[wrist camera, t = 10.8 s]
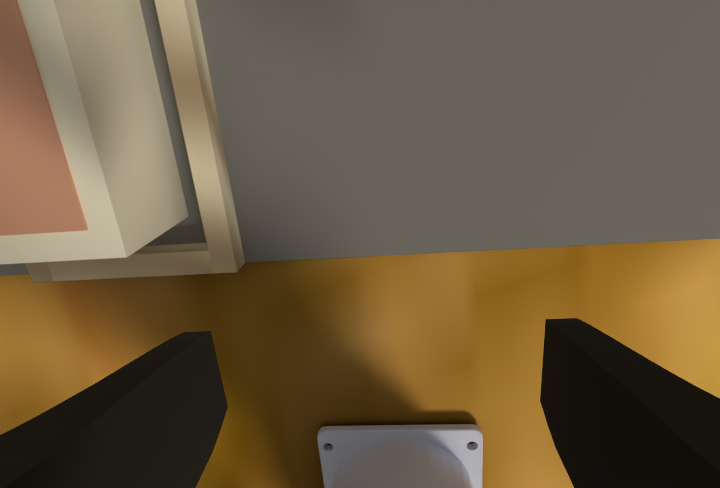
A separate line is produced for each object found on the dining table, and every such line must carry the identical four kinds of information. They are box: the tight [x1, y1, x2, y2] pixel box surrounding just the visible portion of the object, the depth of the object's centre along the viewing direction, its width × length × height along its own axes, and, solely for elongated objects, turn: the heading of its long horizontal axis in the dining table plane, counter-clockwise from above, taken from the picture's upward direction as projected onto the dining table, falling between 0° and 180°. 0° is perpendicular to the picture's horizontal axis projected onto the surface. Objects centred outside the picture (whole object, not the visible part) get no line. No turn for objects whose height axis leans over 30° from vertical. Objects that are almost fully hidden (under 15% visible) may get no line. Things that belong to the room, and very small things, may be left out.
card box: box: [0, 0, 189, 264], centre depth 15 cm, size 9×5×5 cm, turn 5°
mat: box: [0, 0, 720, 275], centre depth 16 cm, size 13×34×1 cm, turn 95°
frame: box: [25, 0, 245, 282], centre depth 17 cm, size 13×9×1 cm
